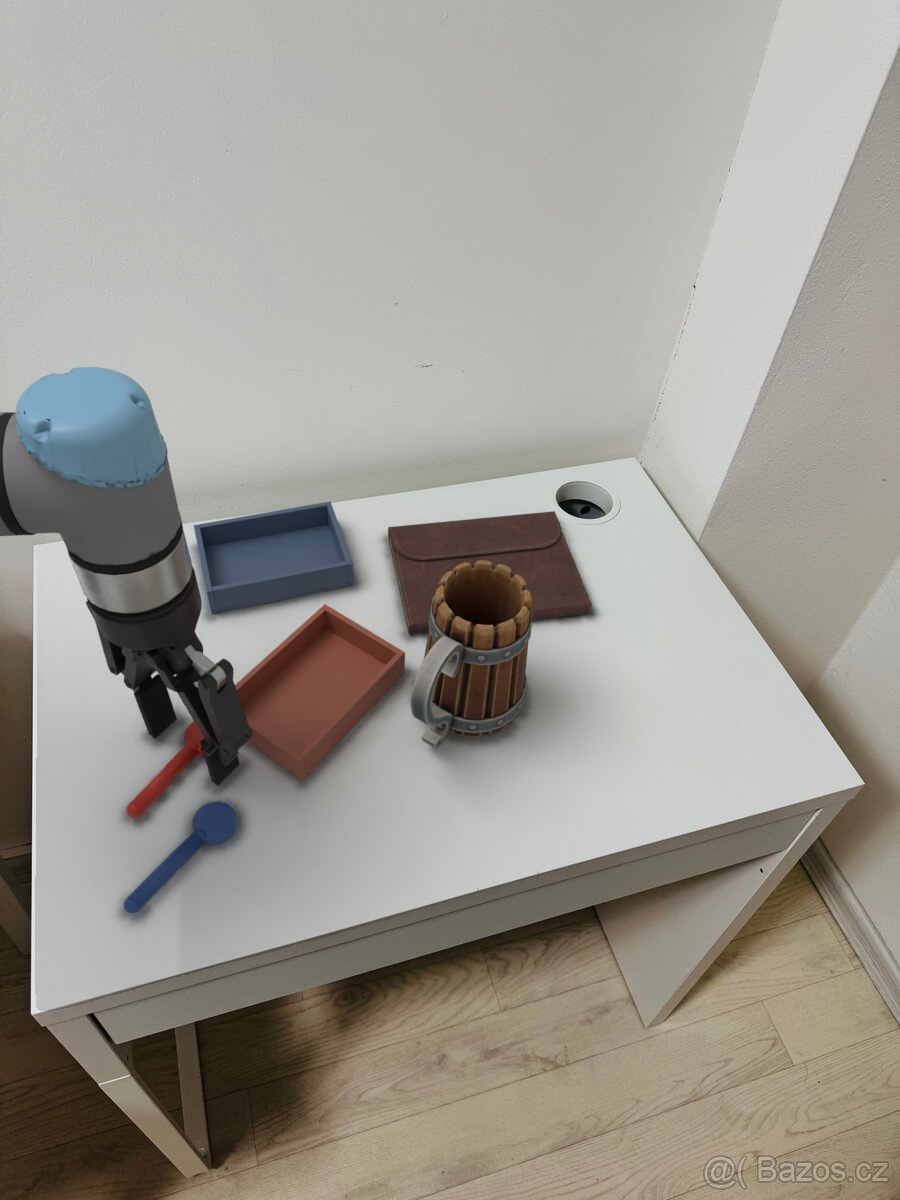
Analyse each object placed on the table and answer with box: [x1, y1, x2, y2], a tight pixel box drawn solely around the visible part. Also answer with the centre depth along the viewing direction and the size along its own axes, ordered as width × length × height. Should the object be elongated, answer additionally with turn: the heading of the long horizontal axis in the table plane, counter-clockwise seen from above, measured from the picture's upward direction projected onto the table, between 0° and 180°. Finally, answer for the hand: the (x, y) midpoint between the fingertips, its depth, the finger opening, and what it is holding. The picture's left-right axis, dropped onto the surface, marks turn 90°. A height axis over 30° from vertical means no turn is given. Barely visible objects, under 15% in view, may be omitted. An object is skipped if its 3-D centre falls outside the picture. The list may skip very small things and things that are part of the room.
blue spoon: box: [123, 801, 238, 915], centre depth 69 cm, size 11×4×1 cm, turn 145°
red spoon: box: [126, 721, 204, 819], centre depth 75 cm, size 11×4×1 cm, turn 149°
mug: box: [410, 560, 533, 749], centre depth 75 cm, size 16×11×15 cm
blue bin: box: [193, 501, 354, 615], centre depth 91 cm, size 15×10×4 cm
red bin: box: [235, 603, 406, 783], centre depth 80 cm, size 15×10×4 cm
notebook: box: [387, 510, 592, 635], centre depth 93 cm, size 15×20×2 cm
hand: (193, 749), depth 76 cm, fingers open, 7 cm apart
